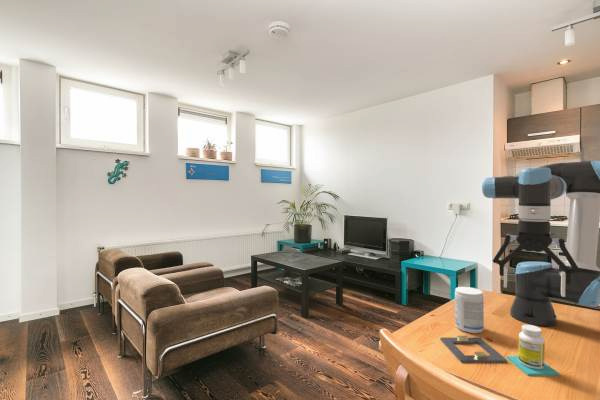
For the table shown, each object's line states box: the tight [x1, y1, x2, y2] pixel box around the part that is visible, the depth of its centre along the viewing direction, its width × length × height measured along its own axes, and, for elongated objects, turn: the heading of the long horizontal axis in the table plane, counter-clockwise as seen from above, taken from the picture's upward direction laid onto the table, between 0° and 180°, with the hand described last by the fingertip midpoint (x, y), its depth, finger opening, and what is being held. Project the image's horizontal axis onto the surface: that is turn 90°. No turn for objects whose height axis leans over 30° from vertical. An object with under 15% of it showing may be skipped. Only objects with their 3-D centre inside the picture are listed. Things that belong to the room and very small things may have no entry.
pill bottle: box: [518, 324, 546, 369], centre depth 90 cm, size 6×6×11 cm
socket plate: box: [439, 335, 508, 363], centre depth 99 cm, size 14×14×2 cm
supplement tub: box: [454, 286, 485, 334], centre depth 115 cm, size 10×10×15 cm
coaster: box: [505, 355, 561, 377], centre depth 90 cm, size 9×9×1 cm
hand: (532, 290), depth 90 cm, fingers open, 13 cm apart
